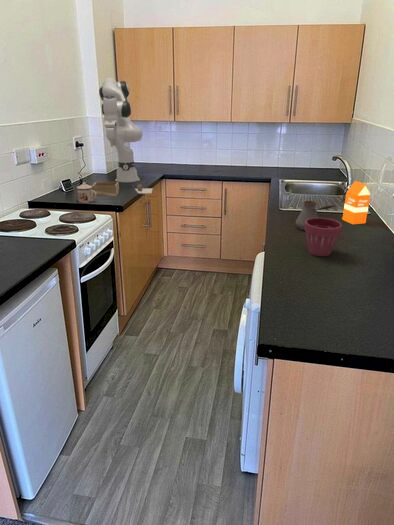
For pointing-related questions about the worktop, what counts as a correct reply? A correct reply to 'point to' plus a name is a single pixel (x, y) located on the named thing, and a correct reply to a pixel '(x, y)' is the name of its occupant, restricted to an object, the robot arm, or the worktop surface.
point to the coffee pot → (308, 213)
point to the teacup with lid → (85, 193)
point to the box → (105, 188)
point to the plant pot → (322, 235)
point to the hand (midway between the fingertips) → (113, 145)
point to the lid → (143, 190)
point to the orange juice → (356, 203)
